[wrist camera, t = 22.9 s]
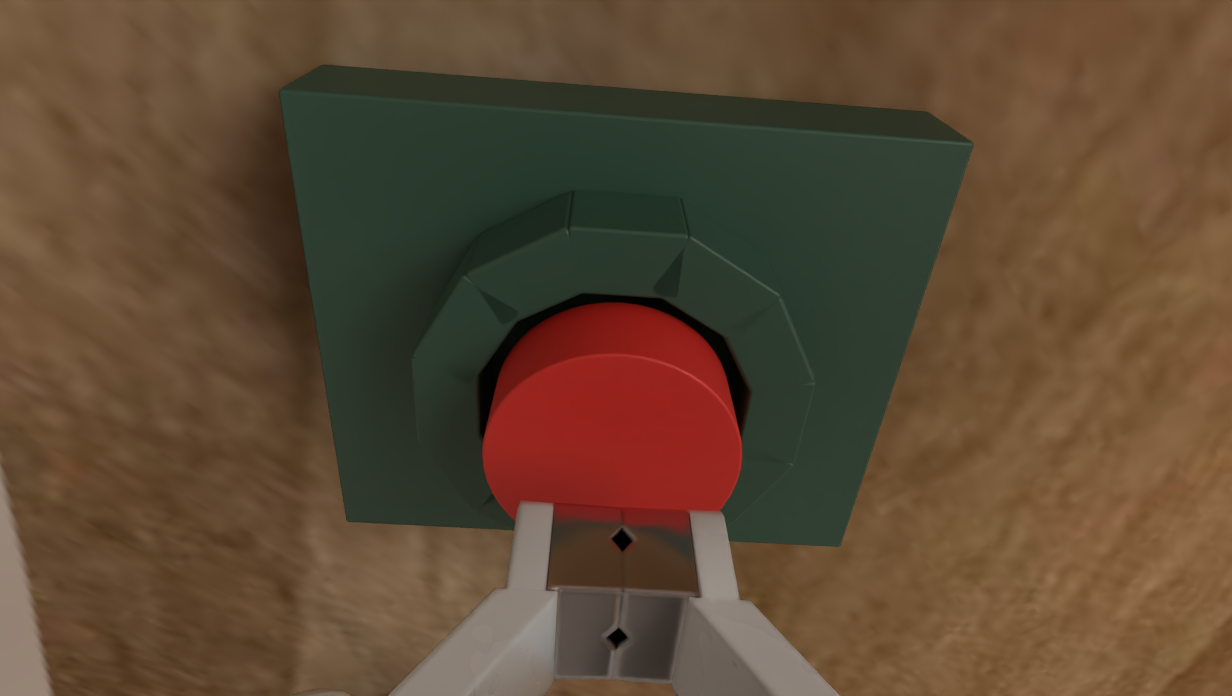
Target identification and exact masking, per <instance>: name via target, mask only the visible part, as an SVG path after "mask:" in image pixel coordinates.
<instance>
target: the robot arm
mask: <svg viewBox="0 0 1232 696" xmlns="http://www.w3.org/2000/svg"><path fill="white" fill-rule="evenodd" d="M554 508H555V509H554ZM553 679H583V680H620V681H634V682H648V683H663V684H672V688H673V690H674V691H675V693H676V694H677V696H840V695H839V694H838V693H837V692H836V691H835V690H834V689H833V688H832V687H831V686H830V685H829V684H828V683H827V682H826V681H825V679H824V678H823V677H822V676H821V675H820V674H819V673H818V672H817V671H816V670H815V669H814V668H813V667H812V666H811V665H810V664H809V663H808V661H807V660H806V659H805V658H804V657H803V656H802V655H801V654H800V653H799V652H798V651H797V650H796V649H795V648H794V647H793V646H792V645H791V643H790V642H789V641H788V640H787V639H786V638H785V637H784V636H783V635H782V634H781V633H780V632H779V631H778V630H777V629H776V628H775V627H774V625H773V624H772V623H771V622H770V621H769V620H768V619H767V618H766V617H765V616H764V615H763V614H762V613H761V612H760V611H759V610H758V609H757V607H756V606H755V605H754V604H753V603H752V602H751V601H748V600H740V598H739V593H738V588H737V582H736V577H735V572H734V566H733V561H732V555H731V550H730V545H729V539H728V534H727V529H726V523H725V518H724V515H723V514H722V513H721V511H703V510H687V511H686V510H673V509H651V508H628V507H621V508H620V507H607V506H594V505H581V504H568V503H556V502H555V506H554V503H545V502H533V501H520V504H519V506H518V509H517V515H516V522H515V528H514V535H513V541H512V548H511V554H510V560H509V567H508V573H507V580H506V586H505V589H501V588H495V589H494V590H493V591H492V592H491V593H490V594H489V595H488V596H487V597H486V598H485V599H484V600H483V601H482V602H481V603H480V604H479V605H478V606H477V607H476V608H475V609H474V610H473V611H472V612H471V613H470V614H469V615H468V616H467V617H466V618H465V619H464V620H463V621H462V622H461V623H460V624H459V625H458V626H457V627H456V628H455V629H454V630H453V631H452V632H451V633H450V634H449V635H448V636H447V637H446V638H445V639H444V640H443V641H442V642H441V643H440V644H439V645H438V646H437V647H436V648H435V649H434V650H433V651H432V652H431V653H430V654H429V655H428V656H427V657H426V658H425V659H424V660H423V661H422V662H421V663H420V664H419V665H418V666H417V667H416V668H415V669H414V670H413V671H412V672H411V673H410V674H409V675H408V676H407V677H406V678H405V679H404V680H403V681H402V682H401V683H400V684H399V685H398V686H397V687H396V688H395V689H394V690H393V691H392V692H391V693H390V694H389V695H388V696H544V695H545V694H546V692H547V691H548V689H549V688H550V686H551V685H552V684H553Z"/></svg>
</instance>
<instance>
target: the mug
mask: <svg viewBox="0 0 1232 696" xmlns="http://www.w3.org/2000/svg"><path fill="white" fill-rule="evenodd" d="M291 696H351V695H350V694H348V693H346V692H344V691H341V690H335V689H315V690H308V691H303V692H298V693H295V694H293V695H291Z"/></svg>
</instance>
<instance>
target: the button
mask: <svg viewBox="0 0 1232 696" xmlns="http://www.w3.org/2000/svg"><path fill="white" fill-rule="evenodd" d="M482 459H483V468H484V472H485V475H486V479H487V482H488V484H489V486H490V489H491V491H492V493H493V495H494V496H495V498H496V499H497V501H498V503H499V504H500V506H501V507H502V508H503V509H504V510H505V511H506V512H507V514H508V515H509V516H510V517H511V518H512V519H514V520H515V521H516V515H517V509H518V506H519V504H520V501H533V502H545V503H554V506H555V502H556V503H568V504H581V505H594V506H607V507H620V508H621V507H628V508H651V509H673V510H686V511H687V510H703V511H719V510H720V509H721V508H722V507H723V506H724V504H725V503H726V501H727V500H728V498H729V497H730V496H731V493H732V491H733V489H734V487H735V485H736V483H737V480H738V477H739V473H740V470H741V463H742V442H741V437H740V432H739V428H738V424H737V419H736V415H735V411H734V407H733V403H732V399H731V394H730V390H729V386H728V382H727V378H726V374H725V372H724V369H723V366H722V364H721V362H720V360H719V358H718V357H717V355H716V353H715V351H714V350H713V349H712V348H711V346H710V345H709V344H708V343H707V341H706V340H705V339H704V338H703V337H702V336H701V335H699V334H698V333H697V332H696V331H695V330H694V329H692V328H691V327H690V326H688V325H687V324H685V323H684V322H683V321H681V320H679V319H677V318H675V317H673V316H671V315H669V314H667V313H665V312H662V311H659V310H657V309H654V308H650V307H646V306H642V305H638V304H630V303H622V302H604V303H594V304H587V305H583V306H578V307H574V308H571V309H568V310H565V311H563V312H560V313H557V314H555V315H553V316H551V317H549V318H547V319H546V320H544V321H542V322H541V323H539V324H538V325H536V326H535V327H533V328H532V329H531V330H529V331H528V332H527V333H526V334H525V335H524V336H523V337H522V338H521V339H520V340H519V341H518V342H517V343H516V344H515V346H514V347H513V348H512V349H511V351H510V352H509V354H508V356H507V357H506V359H505V361H504V363H503V365H502V368H501V370H500V372H499V376H498V380H497V384H496V388H495V393H494V397H493V401H492V405H491V410H490V414H489V418H488V422H487V426H486V431H485V435H484V439H483V448H482ZM554 509H555V508H554Z"/></svg>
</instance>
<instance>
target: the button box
mask: <svg viewBox="0 0 1232 696" xmlns="http://www.w3.org/2000/svg"><path fill="white" fill-rule="evenodd" d="M279 98H280V104H281V111H282V117H283V123H284V129H285V136H286V142H287V148H288V155H289V161H290V167H291V173H292V180H293V186H294V192H295V199H296V205H297V211H298V217H299V224H300V230H301V236H302V243H303V249H304V255H305V262H306V268H307V274H308V280H309V287H310V293H311V299H312V306H313V312H314V318H315V324H316V331H317V337H318V343H319V350H320V356H321V362H322V368H323V375H324V381H325V387H326V394H327V400H328V406H329V412H330V419H331V425H332V431H333V438H334V444H335V450H336V456H337V463H338V469H339V475H340V482H341V488H342V494H343V501H344V507H345V513H346V519H347V521H348V522H363V523H383V524H402V525H422V526H442V527H461V528H481V529H500V530H514V528H515V522H516V521H515V520H514V519H512V518H511V517H510V516H509V515H508V514H507V512H506V511H505V510H504V509H503V508H502V507H501V506H500V504H499V503H498V501H497V499H496V498H495V496H494V495H493V493H492V491H491V489H490V486H489V484H488V482H487V479H486V475H485V472H484V468H483V459H482V448H483V439H484V435H485V431H486V426H487V422H488V418H489V414H490V410H491V405H492V401H493V397H494V393H495V388H496V384H497V380H498V376H499V372H500V370H501V368H502V365H503V363H504V361H505V359H506V357H507V356H508V354H509V352H510V351H511V349H512V348H513V347H514V346H515V344H516V343H517V342H518V341H519V340H520V339H521V338H522V337H523V336H524V335H525V334H526V333H527V332H528V331H529V330H531V329H532V328H533V327H535V326H536V325H538V324H539V323H541V322H542V321H544V320H546V319H547V318H549V317H551V316H553V315H555V314H557V313H560V312H563V311H565V310H568V309H571V308H574V307H578V306H583V305H587V304H594V303H604V302H622V303H630V304H638V305H642V306H646V307H650V308H654V309H657V310H659V311H662V312H665V313H667V314H669V315H671V316H673V317H675V318H677V319H679V320H681V321H683V322H684V323H685V324H687V325H688V326H690V327H691V328H692V329H694V330H695V331H696V332H697V333H698V334H699V335H701V336H702V337H703V338H704V339H705V340H706V341H707V343H708V344H709V345H710V346H711V348H712V349H713V350H714V351H715V353H716V355H717V357H718V358H719V360H720V362H721V364H722V366H723V369H724V372H725V374H726V378H727V382H728V386H729V390H730V394H731V399H732V403H733V407H734V411H735V415H736V419H737V424H738V428H739V432H740V437H741V442H742V463H741V470H740V473H739V477H738V480H737V483H736V485H735V487H734V489H733V491H732V493H731V496H730V497H729V498H728V500H727V501H726V503H725V504H724V506H723V507H722V508H721V509H720V510H719V511H721V513H722V514H723V515H724V518H725V523H726V529H727V534H728V539H729V541H736V542H756V543H775V544H795V545H814V546H834V547H839V546H840V545H841V542H842V539H843V536H844V533H845V530H846V527H847V524H848V521H849V518H850V515H851V512H852V509H853V506H854V503H855V500H856V497H857V494H858V491H859V488H860V485H861V482H862V479H863V476H864V473H865V470H866V467H867V464H868V461H869V458H870V455H871V452H872V449H873V446H874V443H875V440H876V437H877V434H878V431H879V428H880V425H881V422H882V419H883V416H884V413H885V410H886V407H887V404H888V401H889V398H890V395H891V392H892V389H893V386H894V383H895V380H896V377H897V374H898V371H899V368H900V365H901V362H902V359H903V356H904V353H905V350H906V347H907V344H908V341H909V338H910V335H911V332H912V329H913V326H914V323H915V320H916V317H917V314H918V311H919V308H920V305H921V302H922V299H923V296H924V293H925V290H926V287H927V284H928V281H929V278H930V275H931V272H932V269H933V266H934V263H935V260H936V257H937V254H938V251H939V248H940V245H941V242H942V239H943V236H944V233H945V230H946V227H947V224H948V221H949V217H950V214H951V211H952V208H953V205H954V202H955V199H956V196H957V193H958V190H959V187H960V184H961V181H962V178H963V175H964V172H965V169H966V166H967V163H968V160H969V157H970V154H971V151H972V148H973V142H972V141H970V140H969V139H967V138H966V137H964V136H963V135H961V134H960V133H958V132H957V131H955V130H954V129H952V128H951V127H949V126H948V125H946V124H945V123H943V122H942V121H940V120H939V119H937V118H936V117H934V116H933V115H931V114H930V113H928V112H922V111H909V110H896V109H884V108H871V107H858V106H845V105H832V104H820V103H807V102H794V101H781V100H768V99H756V98H743V97H730V96H717V95H704V94H692V93H679V92H666V91H653V90H640V89H628V88H615V87H602V86H589V85H576V84H564V83H551V82H538V81H525V80H512V79H500V78H487V77H474V76H461V75H448V74H436V73H423V72H410V71H397V70H384V69H372V68H359V67H346V66H333V65H321V66H319V67H318V68H316V69H314V70H312V71H311V72H309V73H307V74H305V75H304V76H302V77H300V78H298V79H297V80H295V81H293V82H292V83H290V84H288V85H286V86H285V87H283V88H281V89H279Z"/></svg>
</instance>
